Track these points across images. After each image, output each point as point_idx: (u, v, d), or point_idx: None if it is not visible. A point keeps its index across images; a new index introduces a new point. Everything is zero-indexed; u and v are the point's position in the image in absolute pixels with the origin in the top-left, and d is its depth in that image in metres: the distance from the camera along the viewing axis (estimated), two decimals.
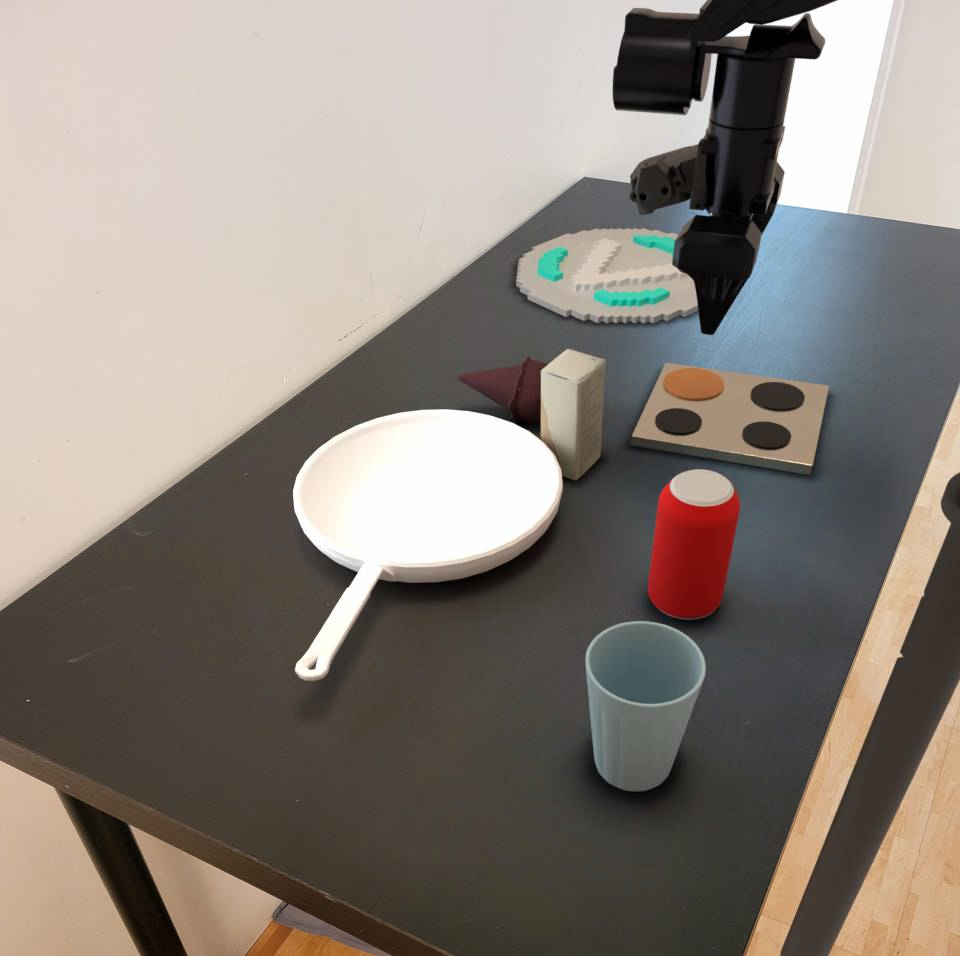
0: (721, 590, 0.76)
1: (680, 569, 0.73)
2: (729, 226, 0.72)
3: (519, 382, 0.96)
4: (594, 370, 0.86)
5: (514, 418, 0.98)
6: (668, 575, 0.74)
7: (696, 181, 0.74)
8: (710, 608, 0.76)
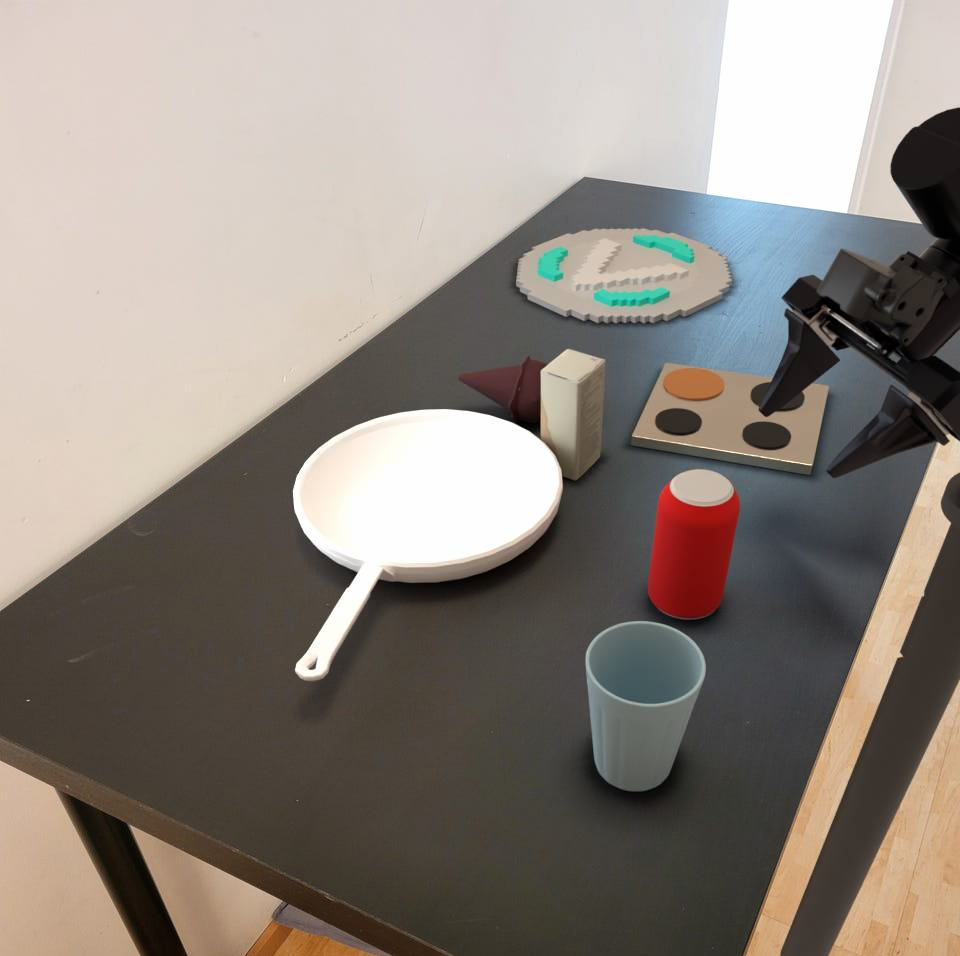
0: (721, 590, 0.76)
1: (680, 569, 0.73)
2: None
3: (519, 382, 0.96)
4: (594, 370, 0.86)
5: (514, 418, 0.98)
6: (668, 575, 0.74)
7: (925, 315, 0.64)
8: (710, 608, 0.76)
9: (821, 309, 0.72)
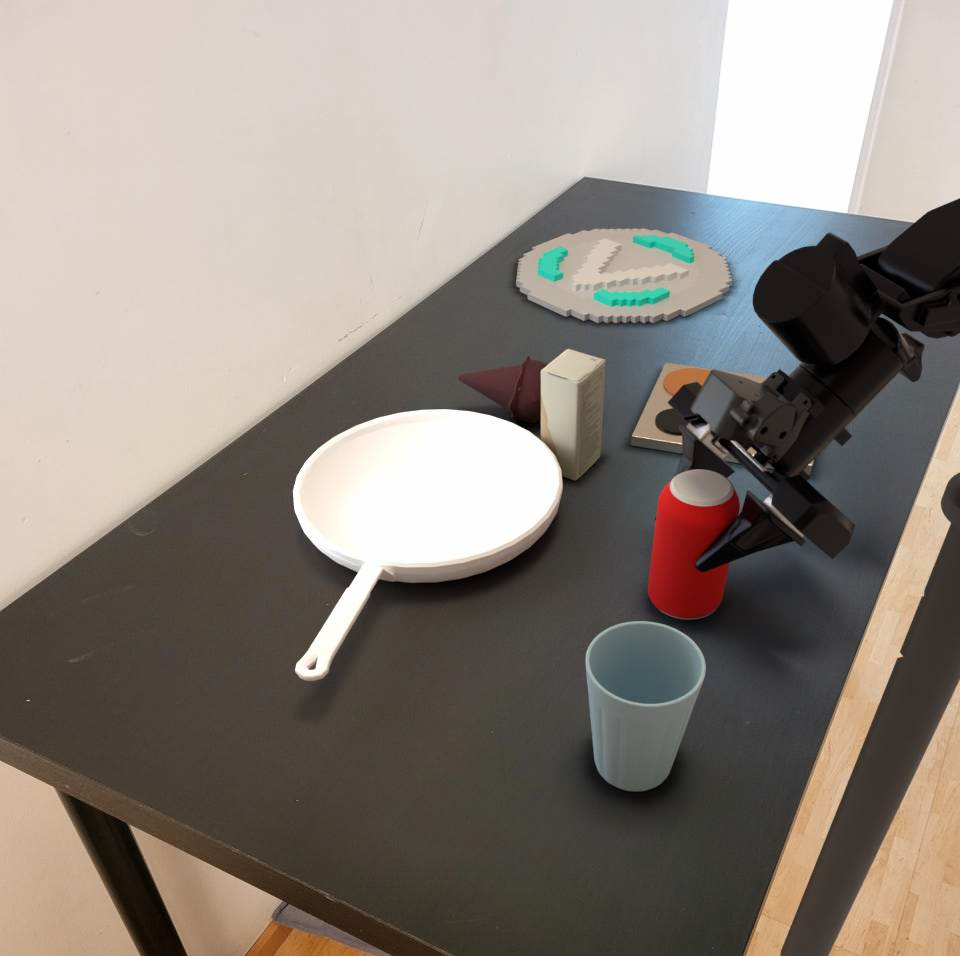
0: (721, 590, 0.76)
1: (680, 569, 0.73)
2: None
3: (519, 382, 0.96)
4: (594, 370, 0.86)
5: (514, 418, 0.98)
6: (668, 575, 0.74)
7: (791, 434, 0.67)
8: (710, 608, 0.76)
9: None
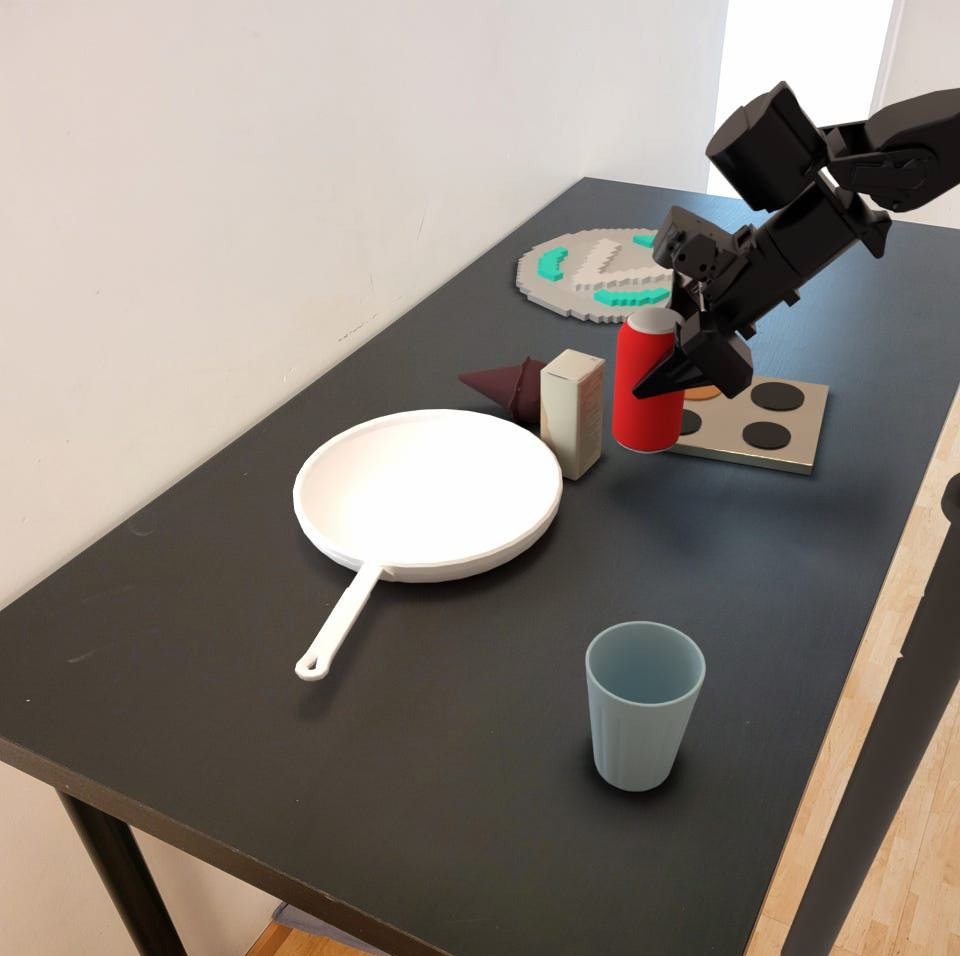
0: (666, 430, 0.83)
1: (624, 394, 0.81)
2: (740, 346, 0.72)
3: (519, 382, 0.96)
4: (594, 370, 0.86)
5: (514, 418, 0.98)
6: (617, 400, 0.83)
7: (725, 276, 0.72)
8: (653, 444, 0.84)
9: None
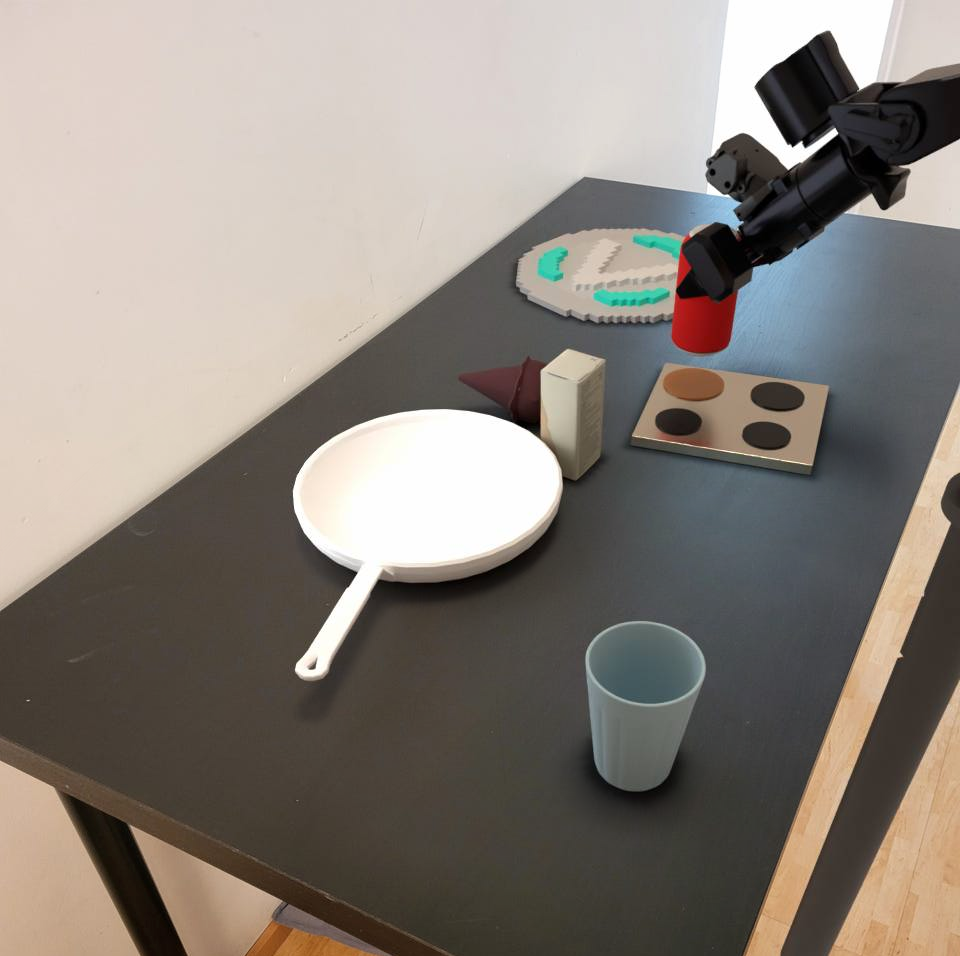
0: (703, 335, 0.95)
1: (676, 293, 0.95)
2: (735, 258, 0.83)
3: (519, 382, 0.96)
4: (594, 370, 0.86)
5: (514, 418, 0.98)
6: None
7: (752, 199, 0.84)
8: (690, 345, 0.96)
9: None
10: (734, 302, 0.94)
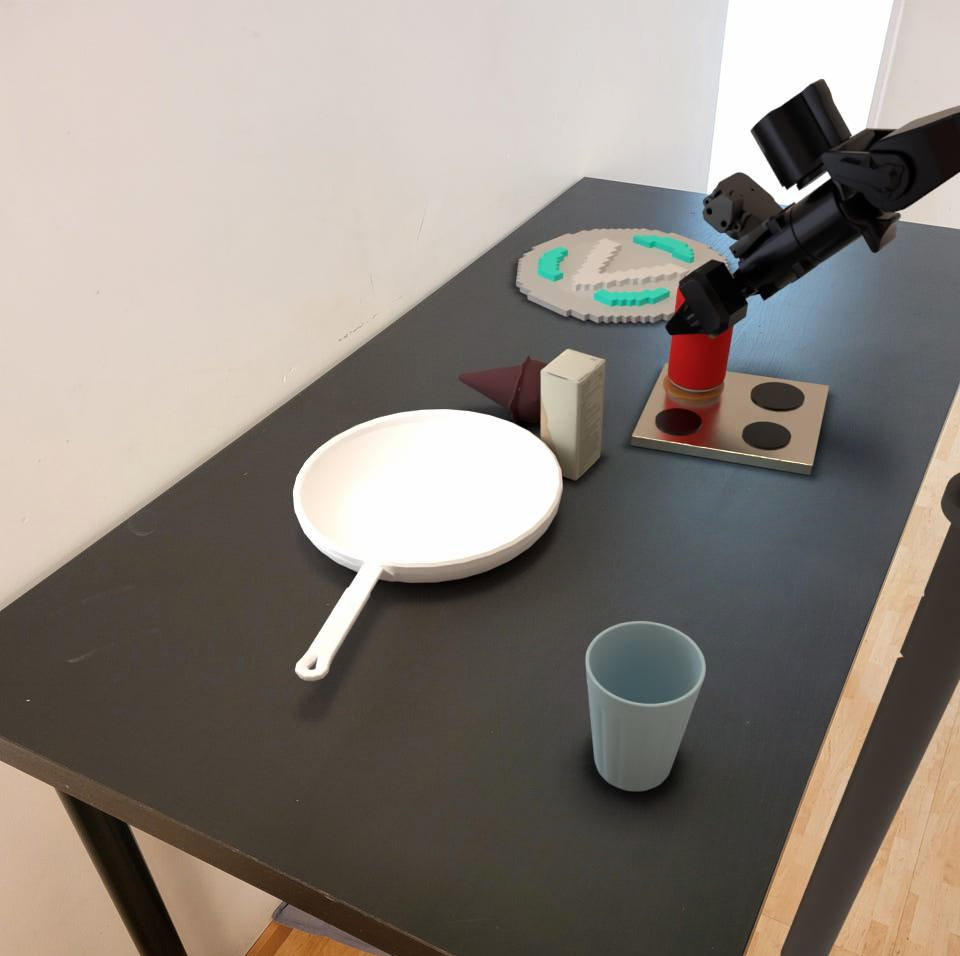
0: (699, 373, 0.98)
1: None
2: (730, 296, 0.86)
3: (519, 382, 0.96)
4: (594, 370, 0.86)
5: (514, 418, 0.98)
6: None
7: (747, 237, 0.86)
8: (686, 382, 0.99)
9: None
10: (729, 341, 0.97)
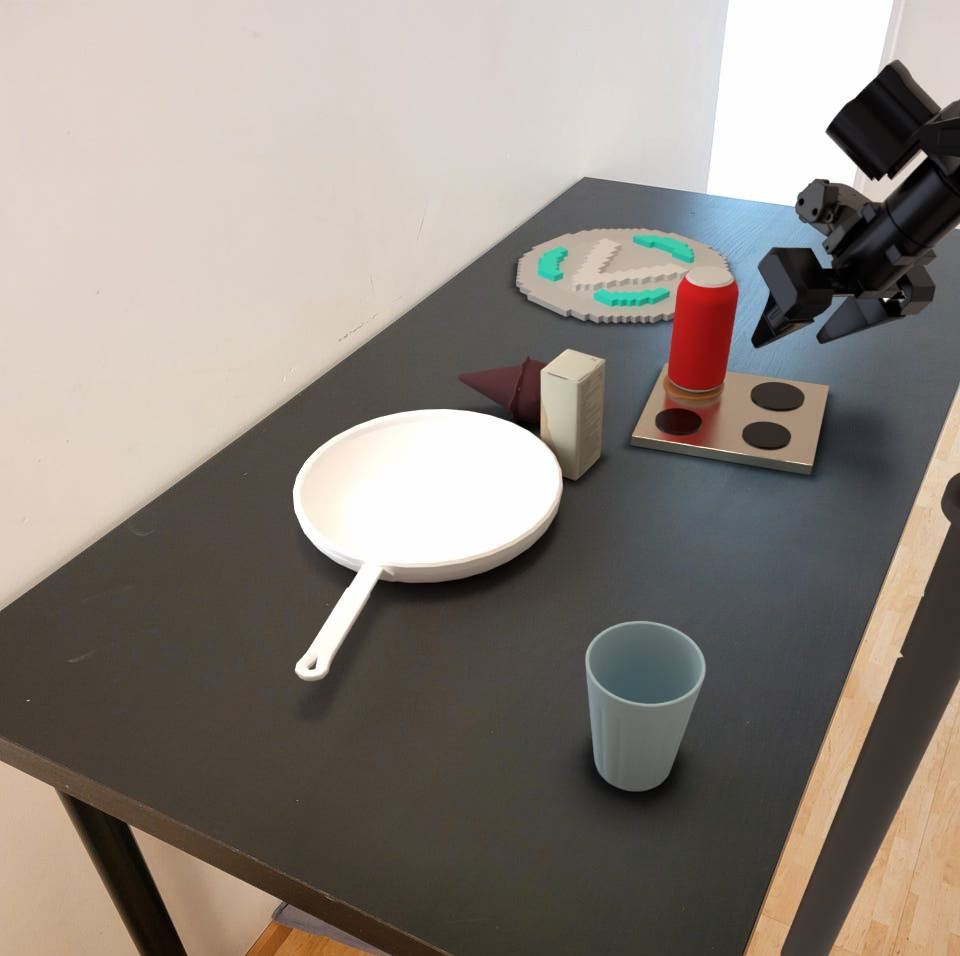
0: (699, 373, 0.98)
1: (673, 332, 0.98)
2: (813, 275, 0.79)
3: (519, 382, 0.96)
4: (594, 371, 0.86)
5: (514, 418, 0.98)
6: None
7: (840, 228, 0.80)
8: (686, 382, 0.99)
9: None
10: (729, 341, 0.97)
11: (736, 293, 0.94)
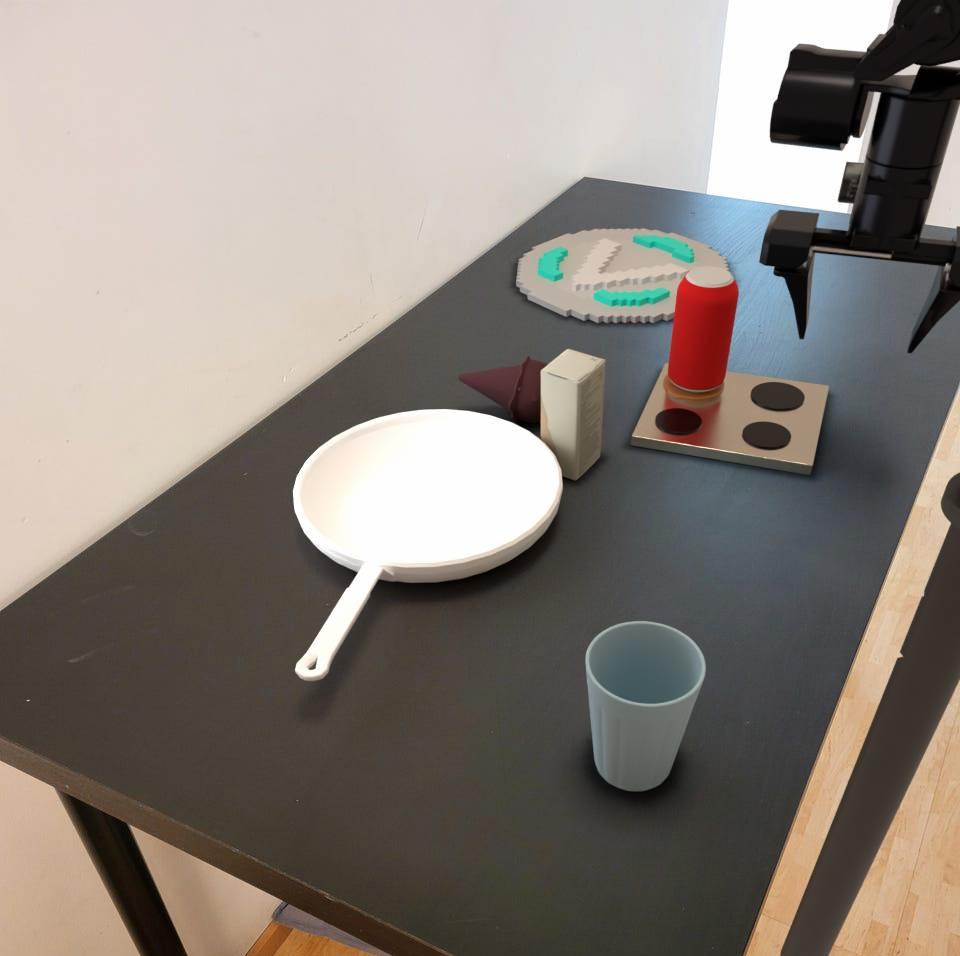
0: (699, 373, 0.98)
1: (673, 332, 0.98)
2: (794, 223, 0.78)
3: (519, 382, 0.96)
4: (594, 370, 0.86)
5: (514, 418, 0.98)
6: None
7: (855, 193, 0.78)
8: (686, 382, 0.99)
9: None
10: (729, 341, 0.97)
11: (736, 293, 0.94)
